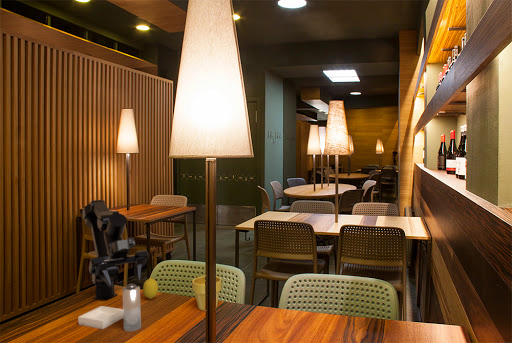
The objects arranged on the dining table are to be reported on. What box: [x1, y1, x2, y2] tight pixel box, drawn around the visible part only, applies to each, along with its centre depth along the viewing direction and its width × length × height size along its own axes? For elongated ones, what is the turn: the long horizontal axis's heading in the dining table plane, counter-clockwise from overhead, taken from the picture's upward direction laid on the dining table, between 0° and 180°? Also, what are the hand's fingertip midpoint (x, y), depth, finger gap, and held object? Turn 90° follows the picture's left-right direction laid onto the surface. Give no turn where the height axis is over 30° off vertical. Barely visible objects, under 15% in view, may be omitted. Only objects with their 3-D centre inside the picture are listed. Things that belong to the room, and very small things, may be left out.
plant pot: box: [191, 275, 223, 311], centre depth 142 cm, size 10×10×10 cm
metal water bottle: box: [122, 283, 142, 332], centre depth 126 cm, size 5×5×14 cm
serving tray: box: [77, 305, 123, 330], centre depth 132 cm, size 10×10×2 cm
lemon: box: [142, 277, 159, 300], centre depth 151 cm, size 6×6×8 cm
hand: (125, 283), depth 131 cm, fingers open, 9 cm apart
